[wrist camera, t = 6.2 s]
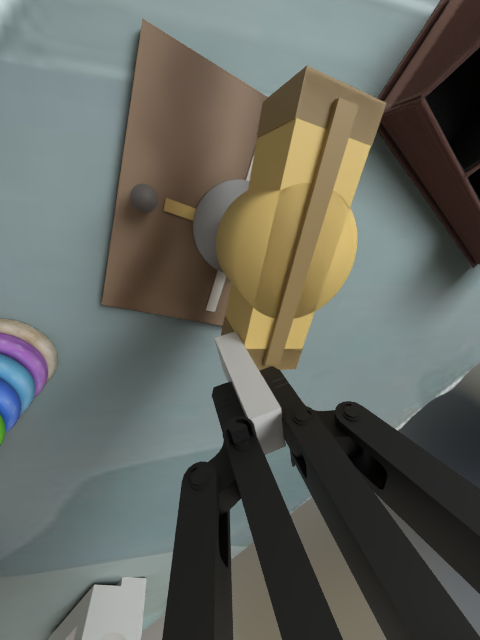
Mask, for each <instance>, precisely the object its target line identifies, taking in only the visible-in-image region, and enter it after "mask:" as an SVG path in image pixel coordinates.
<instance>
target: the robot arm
mask: <svg viewBox="0 0 480 640" xmlns="http://www.w3.org/2000/svg"><path fill="white" fill-rule="evenodd" d="M215 342H216V345H217V349H218V353H219V356H220V360H221V364H222V367H223V371H224V373H225V376H226V378H227V381H228V383H225V384H222V385H219V386H216V387H214V388H213V393H212V398H213V401H214V404H215V408H216V411H217V415H218V418H219V422H220V425H221V429H222V432H223V438H224V443H223V446H222V448H221V450H220V452H219V453H218V454H217V455H216V456H215V457H214V458H212V459H211V460H210V461H209V462H198V463H195V464H193V465H192V466H191V467H189V468H188V470H187V471H186V473H185V474H184V477H183V480H182V486H181V494H180V502H179V510H178V518H177V526H176V534H175V542H174V550H173V558H172V566H171V574H170V582H169V590H168V598H167V606H166V614H165V622H164V630H163V638H162V640H233V617H232V582H231V545H230V509H231V508H232V507H233V506H234V505H235V504H236V503H237V502H238V501H239V500H240V499H242V502H243V506H244V509H245V513H246V516H247V519H248V523H249V526H250V530H251V533H252V537H253V540H254V544H255V547H256V551H257V554H258V557H259V561H260V564H261V568H262V571H263V575H264V578H265V582H266V585H267V588H268V592H269V595H270V599H271V602H272V606H273V609H274V613H275V616H276V620H277V623H278V627H279V630H280V634H281V637H282V640H343V639H342V636H341V634H340V632H339V629H338V627H337V625H336V623H335V620H334V618H333V615H332V613H331V610H330V608H329V606H328V603H327V601H326V599H325V596H324V594H323V592H322V589H321V587H320V585H319V582H318V580H317V577H316V575H315V573H314V571H313V568H312V566H311V564H310V561H309V559H308V556H307V554H306V552H305V549H304V547H303V544H302V542H301V540H300V537H299V535H298V533H297V530H296V528H295V526H294V523H293V521H292V518H291V516H290V514H289V511H288V509H287V507H286V504H285V502H284V500H283V497H282V495H281V492H280V490H279V488H278V485H277V483H276V481H275V478H274V476H273V474H272V471H271V469H270V467H269V464H268V462H267V459H266V457H265V455H266V454H268V453H270V452H273V451H275V450H278V449H280V448H282V447H285V446H286V443H287V445H288V446H289V448H290V454H291V462H292V466H295V465H296V467H297V468H298V470H299V472H300V474H301V476H302V478H303V480H304V482H305V484H306V486H307V488H308V489H309V491H310V493H311V495H312V497H313V499H314V501H315V503H316V505H317V507H318V509H319V510H320V512H321V514H322V516H323V518H324V520H325V522H326V524H327V526H328V528H329V530H330V532H331V533H332V535H333V537H334V539H335V541H336V543H337V545H338V547H339V549H340V551H341V552H342V555H343V557H344V558H345V560H346V562H347V564H348V566H349V568H350V570H351V572H352V574H353V576H354V578H355V579H356V581H357V583H358V585H359V587H360V589H361V591H362V593H363V595H364V597H365V599H366V601H367V603H368V604H369V606H370V608H371V610H372V612H373V614H374V616H375V618H376V620H377V622H378V623H379V625H380V627H381V629H382V631H383V633H384V635H385V637H386V639H387V640H480V637H479V635H478V634H477V632H476V631H475V630H474V628H473V627H472V626H471V624H470V623H469V622H468V620H467V619H466V617H465V616H464V615H463V613H462V612H461V611H460V609H459V608H458V607H457V605H456V604H455V602H454V601H453V600H452V598H451V597H450V596H449V594H448V593H447V592H446V590H445V589H444V587H443V586H442V585H441V583H440V582H439V581H438V579H437V578H436V576H435V575H434V574H433V573H432V571H431V570H430V569H429V567H428V566H427V564H426V563H425V561H424V560H423V559H422V557H421V556H420V555H419V553H418V552H417V551H416V549H415V548H414V547H413V545H412V544H411V542H410V541H409V540H408V538H407V537H406V536H405V534H404V533H403V531H402V530H401V529H400V528H399V526H398V525H397V523H396V522H395V521H394V519H393V518H392V517H391V515H390V514H389V512H388V511H387V510H386V508H385V507H384V506H383V504H382V503H381V501H380V500H379V499H378V497H377V496H376V495H375V493H376V494H377V495H378V496H379V497H380V498H381V499H382V500H383V501H384V502H385V503H386V504H387V505H388V506H389V507H390V508H391V509H392V510H393V511H394V512H395V513H396V514H397V515H398V516H399V517H401V518H402V519H403V520H404V521H405V522H406V523H407V524H408V525H409V526H410V527H411V528H412V529H413V530H414V531H415V532H416V533H417V534H418V535H419V536H420V537H421V538H422V539H424V541H425V542H426V543H427V544H429V545H430V546H431V547H432V548H433V549H434V550H435V551H436V552H437V553H438V554H439V555H440V556H441V557H442V558H443V559H444V560H445V561H446V562H447V563H448V564H449V565H450V566H451V567H452V568H453V569H454V570H455V571H457V572H458V573H459V574H460V575H461V576H462V577H463V578H464V579H465V580H466V581H467V582H468V583H469V584H470V585H471V586H472V587H473V588H474V589H475V590H476V591H477V592H478V593H479V594H480V489H479V488H478V487H476V486H475V485H474V484H472V483H471V482H469V481H468V480H467V479H465V478H464V477H462V476H461V475H459V474H458V473H457V472H455V471H454V470H452V469H451V468H450V467H448V466H447V465H445V464H444V463H442V462H441V461H440V460H438V459H437V458H435V457H434V456H432V455H431V454H430V453H428V452H427V451H425V450H424V449H422V448H421V447H420V446H418V445H417V444H415V443H414V442H413V441H411V440H410V439H408V438H407V437H405V436H404V435H403V434H401V433H400V432H398V431H397V430H396V429H394V428H393V427H391V426H390V425H388V424H387V423H386V422H384V421H383V420H381V419H380V418H379V417H377V416H376V415H374V414H373V413H371V412H370V411H369V410H367V409H366V408H364V407H363V406H361V405H359V404H358V403H355V402H350V401H347V402H342V403H340V404H338V406H337V407H336V410H332V411H316V410H312V409H311V408H309V407H307V406H305V404H304V403H303V402H302V401H301V399H300V398H299V397H298V395H297V394H296V392H295V391H294V389H293V388H292V387H291V385H290V384H289V383H288V381H287V380H286V378H285V377H284V375H283V374H282V373H281V371H280V370H279V369H277V368H275V367H274V366H271V367H268V368H265V369H262V370H258V368H257V366H256V365H255V363H254V361H253V360H252V358H251V356H250V355H249V353H248V351H247V349H246V348H245V346H244V344H243V343H242V341H241V339H240V338H239V336H238V334H237V333H236V331H235V332H232V333H229V334H225V335H222V336H219V337H216V338H215ZM285 441H286V443H285ZM373 491H374V492H375V493H374V492H373Z"/></svg>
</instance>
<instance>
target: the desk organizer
mask: <svg viewBox="0 0 480 640" xmlns="http://www.w3.org/2000/svg"><path fill="white" fill-rule="evenodd" d="M378 99H379V100H381V101H384V102H386V106H385V109H384V112H383V115H382V118H381V121H380V124H379V127H378V129H377V130H378V132H379V133H380V135H381V136H382V138H383V139H384V141H385V142H386V143H387V145H388V146H389V148H390V149H391V151H392V152H393V153H394V155H395V156H396V158H397V159H398V161H399V162H400V163H401V165H402V166H403V168H404V169H405V171H406V172H407V173H408V175H409V176H410V178H411V179H412V180H413V182H414V183H415V185H416V186H417V187H418V189H419V190H420V192H421V193H422V195H423V196H424V197H425V199H426V200H427V202H428V203H429V204H430V206H431V207H432V209H433V210H434V212H435V213H436V215H437V216H438V218H439V219H440V221H441V222H442V223H443V225H444V226H445V228H446V229H447V231H448V232H449V233H450V235H451V236H452V238H453V239H454V241H455V242H456V243H457V245H458V246H459V248H460V249H461V251H462V252H463V253H464V255H465V256H466V258H467V259H468V261H469V262H470V263H471V265H472V266H473V267H476V265H477V264H480V0H441V2H440V3H439V5H438V6H437V8H436V9H435V11H434V12H433V14H432V16H431V17H430V19H429V20H428V21H427V23H426V25H425V27H424V28H423V29H422V31H421V33H420V34H419V36H418V37H417V39H416V40H415V42H414V43H413V45H412V46H411V48H410V49H409V51H408V52H407V54H406V55H405V57H404V59H403V60H402V62H401V63H400V65H399V66H398V68H397V69H396V71H395V72H394V74H393V76H392V77H391V79H390V80H389V82H388V83H387V85H386V86H385V88H384V89H383V91H382V92H381V94H380V95H379V97H378Z"/></svg>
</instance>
